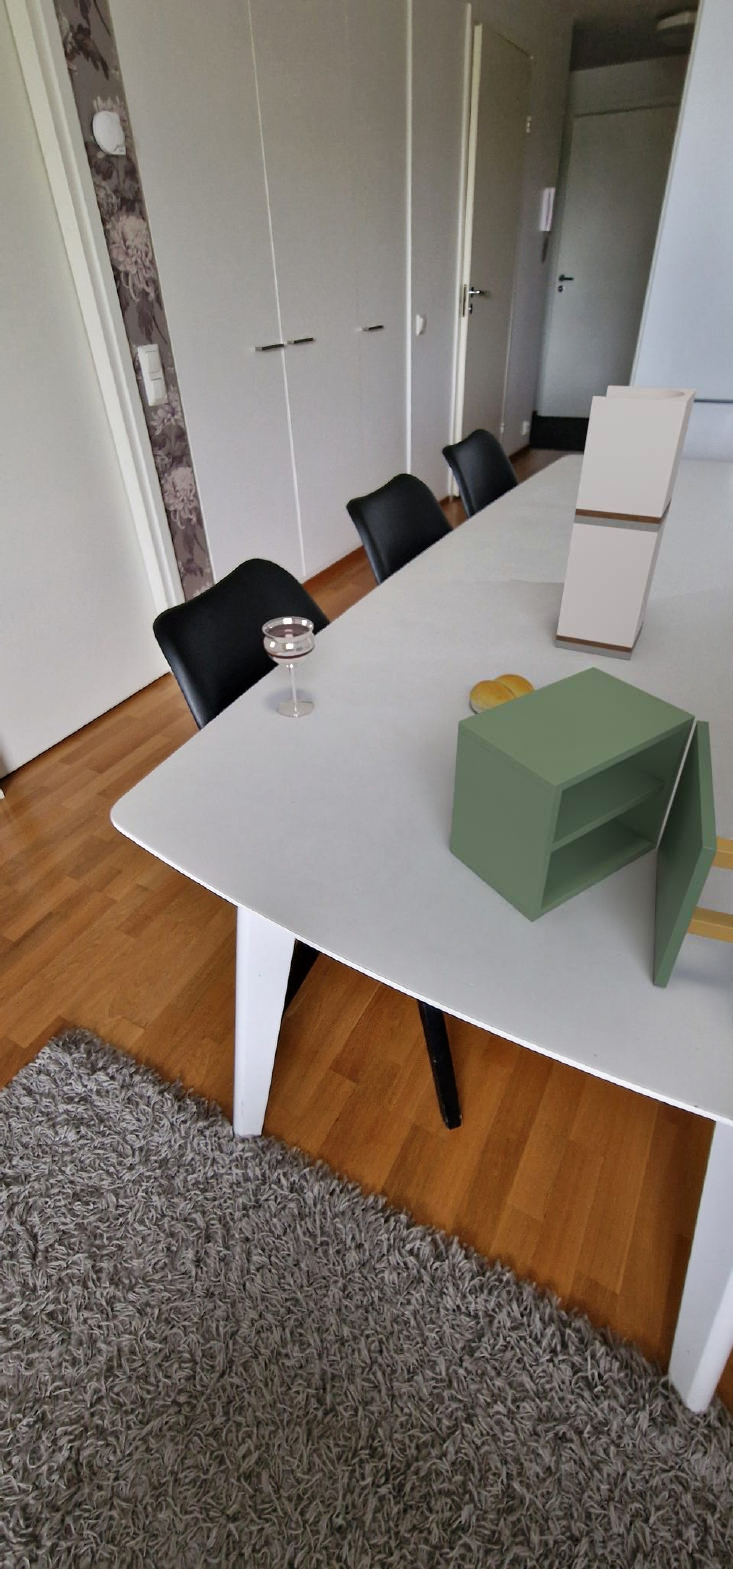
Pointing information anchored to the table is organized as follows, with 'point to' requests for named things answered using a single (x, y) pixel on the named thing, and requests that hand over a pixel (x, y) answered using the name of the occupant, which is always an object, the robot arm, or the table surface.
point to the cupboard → (564, 786)
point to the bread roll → (498, 691)
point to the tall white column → (621, 515)
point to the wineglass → (290, 654)
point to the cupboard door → (689, 860)
